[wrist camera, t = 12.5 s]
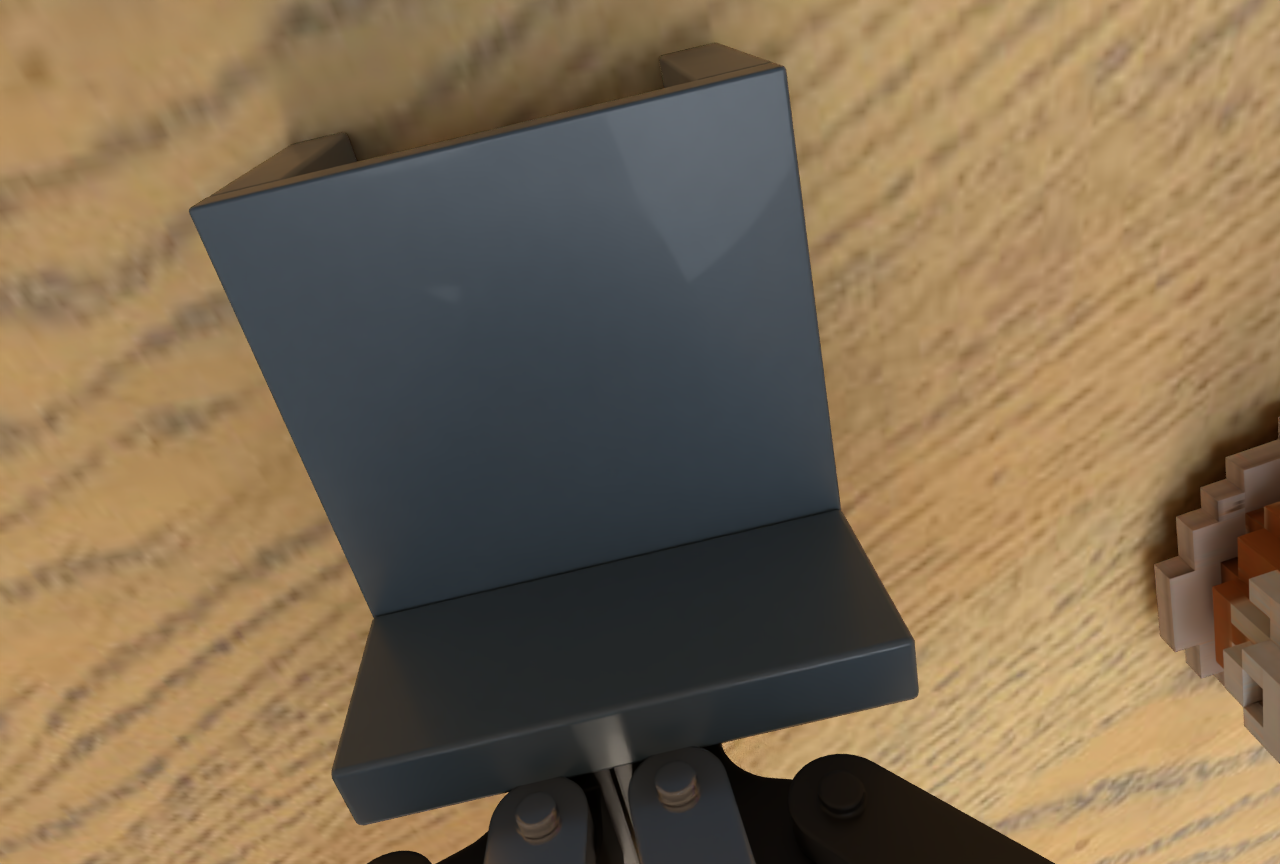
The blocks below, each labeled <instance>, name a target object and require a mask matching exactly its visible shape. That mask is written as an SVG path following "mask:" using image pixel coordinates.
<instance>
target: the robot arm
mask: <svg viewBox="0 0 1280 864" xmlns="http://www.w3.org/2000/svg"><path fill="white" fill-rule="evenodd" d="M367 864H432V863H431V862H430V861H429V860H428V859H427V858H426V857H425V856H423V855H422V854H419V853H417V852H412V851H396V852H391V853H388V854H385V855H382V856H380V857H378V858H376V859H374V860H372V861H371V862H369V863H367ZM436 864H1055V863H1053V862H1051V861H1049V860H1048V859H1046V858H1044V857H1042V856H1041V855H1039V854H1037V853H1035V852H1033V851H1032V850H1030V849H1028V848H1026V847H1024V846H1023V845H1021V844H1019V843H1017V842H1015V841H1014V840H1012V839H1010V838H1008V837H1007V836H1005V835H1003V834H1001V833H999V832H998V831H996V830H994V829H992V828H990V827H989V826H987V825H985V824H983V823H981V822H980V821H978V820H976V819H974V818H972V817H971V816H969V815H967V814H965V813H964V812H962V811H960V810H958V809H956V808H955V807H953V806H951V805H949V804H947V803H946V802H944V801H942V800H940V799H938V798H937V797H935V796H933V795H931V794H929V793H928V792H926V791H924V790H922V789H921V788H919V787H917V786H915V785H913V784H912V783H910V782H908V781H906V780H904V779H903V778H901V777H899V776H897V775H895V774H894V773H892V772H890V771H888V770H887V769H885V768H883V767H881V766H879V765H878V764H876V763H874V762H872V761H870V760H868V759H866V758H863V757H859V756H856V755H849V754H834V755H827V756H824V757H820V758H818V759H816V760H813V761H811V762H810V763H808V764H807V765H805V766H804V767H803V768H802V769H801V770H800V771H799V772H798V773H797V774H796V775H795V777H794V778H793V780H792V779H777V778H767V777H761V776H757V775H754V774H751V773H749V772H746V771H744V770H743V769H741V768H739V767H738V766H737V765H735V764H734V763H733V762H732V761H731V760H730V759H729V758H728V757H727V755H726V754H725V752H724V750H723V748H722V743H720V744H715V745H711V746H707V747H702V748H700V747H696V746H690V747H686V748H681V749H677V750H673V751H668V752H664V753H660V754H655V755H651V756H649V757H648V758H647V759H645V760H644V761H641V762H637V763H633V764H628V765H624V766H620V767H615V768H611V769H607V770H602V771H598V772H594V773H589V774H585V775H581V776H576V777H572V778H566V777H562V776H560V777H556V778H552V779H547V780H543V781H539V782H534V783H530V784H526V785H521V786H517V787H515V788H514V789H513V790H511V791H510V792H509V793H508V794H507V795H506V796H505V797H504V798H503V799H502V800H501V801H500V803H499V804H498V806H497V807H496V809H495V810H494V813H493V815H492V817H491V821H490V825H489V831H488V832H486V833H485V834H484V835H483V836H482V837H481V838H480V839H478V840H477V841H476V842H474V843H473V844H471V845H469V846H468V847H466V848H464V849H463V850H461V851H459V852H457V853H455V854H453V855H451V856H449V857H448V858H446V859H444V860H442V861H440V862H438V863H436Z"/></svg>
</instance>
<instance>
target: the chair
mask: <svg viewBox="0 0 1280 864" xmlns="http://www.w3.org/2000/svg"><path fill="white" fill-rule="evenodd" d="M659 63H660V69H661V74H662V79H663V85H664V88H663V89H659V90H654V91H650V92H646V93H642V94H638V95H634V96H629V97H625V98H621V99H617V100H613V101H608V102H604V103H600V104H596V105H592V106H588V107H583V108H579V109H575V110H571V111H567V112H563V113H558V114H554V115H550V116H546V117H542V118H537V119H533V120H529V121H525V122H521V123H517V124H512V125H508V126H504V127H500V128H496V129H492V130H487V131H483V132H479V133H475V134H471V135H466V136H462V137H458V138H454V139H450V140H446V141H441V142H437V143H433V144H429V145H425V146H421V147H416V148H412V149H408V150H404V151H400V152H395V153H391V154H387V155H383V156H379V157H375V158H370V159H366V160H362V161H358V162H357V160H356V157H355V155H354V152H353V149H352V146H351V143H350V141H349V138H348V136H347V134H346V133H342V132H341V133H337V134H333V135H329V136H324V137H320V138H316V139H312V140H308V141H304V142H299V143H295V144H291V145H290V146H288V147H286V148H285V149H283V150H282V151H280V152H279V153H277V154H275V155H274V156H272V157H271V158H269V159H268V160H266V161H264V162H263V163H261V164H260V165H258V166H257V167H255V168H253V169H252V170H250V171H249V172H247V173H245V174H244V175H242V176H241V177H239V178H238V179H236V180H234V181H233V182H231V183H230V184H228V185H227V186H225V187H223V188H222V189H220V190H219V191H217V192H216V193H214V194H212V195H211V196H210V197H208V198H205V199H203V200H202V201H200V202H199V203H197V204H196V205H194V206H192V207H191V208H190V209H189V213H190V215H191V218H192V220H193V222H194V224H195V226H196V229H197V231H198V233H199V235H200V237H201V240H202V242H203V244H204V246H205V248H206V251H207V253H208V255H209V257H210V259H211V262H212V264H213V266H214V268H215V270H216V272H217V275H218V277H219V279H220V281H221V283H222V286H223V288H224V290H225V292H226V294H227V297H228V299H229V301H230V303H231V305H232V308H233V310H234V312H235V314H236V316H237V319H238V321H239V323H240V325H241V327H242V330H243V332H244V334H245V336H246V338H247V341H248V343H249V345H250V347H251V349H252V352H253V354H254V356H255V358H256V360H257V363H258V365H259V367H260V369H261V371H262V374H263V376H264V378H265V380H266V382H267V385H268V387H269V389H270V391H271V393H272V396H273V398H274V400H275V402H276V404H277V407H278V409H279V411H280V413H281V415H282V418H283V420H284V422H285V424H286V426H287V428H288V431H289V433H290V435H291V437H292V439H293V442H294V444H295V446H296V448H297V450H298V453H299V455H300V457H301V459H302V461H303V464H304V466H305V468H306V470H307V472H308V475H309V477H310V479H311V481H312V483H313V486H314V488H315V490H316V492H317V494H318V497H319V499H320V501H321V503H322V505H323V508H324V510H325V512H326V514H327V516H328V519H329V521H330V523H331V525H332V527H333V530H334V532H335V534H336V536H337V538H338V541H339V543H340V545H341V547H342V549H343V552H344V554H345V556H346V558H347V560H348V563H349V565H350V567H351V569H352V571H353V573H354V576H355V578H356V580H357V582H358V584H359V587H360V589H361V591H362V593H363V595H364V598H365V600H366V602H367V604H368V606H369V609H370V611H371V613H372V615H373V617H374V619H373V621H372V624H371V627H370V631H369V635H368V638H367V642H366V646H365V650H364V653H363V657H362V661H361V664H360V668H359V672H358V675H357V679H356V683H355V686H354V690H353V694H352V697H351V701H350V705H349V708H348V712H347V716H346V719H345V723H344V727H343V730H342V734H341V738H340V742H339V745H338V749H337V753H336V756H335V760H334V764H333V767H332V774H331V775H332V779H333V781H334V783H335V784H336V786H337V788H338V790H339V792H340V794H341V795H342V797H343V799H344V801H345V803H346V805H347V807H348V808H349V810H350V812H351V814H352V816H353V818H354V819H355V821H356V823H357V824H359V825H367V824H372V823H376V822H380V821H385V820H389V819H394V818H398V817H402V816H407V815H411V814H415V813H420V812H424V811H428V810H433V809H437V808H441V807H446V806H450V805H454V804H459V803H463V802H467V801H472V800H476V799H480V798H485V797H489V796H494V795H498V794H502V793H507V792H510V791H511V790H513V789H514V788H515V787H517V786H521V785H526V784H530V783H534V782H539V781H543V780H547V779H552V778H556V777H560V776H562V777H566V778H572V777H576V776H581V775H585V774H589V773H594V772H598V771H602V770H607V769H611V768H615V767H620V766H624V765H628V764H633V763H637V762H641V761H644V760H645V759H647V758H648V757H649V756H651V755H655V754H660V753H664V752H668V751H673V750H677V749H681V748H686V747H690V746H696V747H700V748H702V747H707V746H711V745H715V744H720V743H724V742H728V741H733V740H737V739H741V738H746V737H750V736H754V735H759V734H763V733H768V732H772V731H776V730H781V729H785V728H789V727H794V726H798V725H802V724H807V723H811V722H815V721H820V720H824V719H828V718H833V717H837V716H841V715H846V714H850V713H854V712H859V711H863V710H868V709H872V708H876V707H881V706H885V705H889V704H894V703H898V702H902V701H907V700H911V699H914V698H916V697H917V696H918V692H919V687H918V676H917V664H916V652H915V640H914V639H913V637H912V635H911V633H910V631H909V630H908V628H907V626H906V624H905V623H904V621H903V619H902V617H901V615H900V614H899V612H898V610H897V608H896V606H895V605H894V603H893V601H892V599H891V598H890V596H889V594H888V592H887V590H886V589H885V587H884V585H883V583H882V582H881V580H880V578H879V576H878V574H877V573H876V571H875V569H874V567H873V565H872V564H871V562H870V560H869V558H868V557H867V555H866V553H865V551H864V549H863V548H862V546H861V544H860V542H859V541H858V539H857V537H856V535H855V533H854V532H853V530H852V528H851V526H850V524H849V523H848V521H847V519H846V517H845V516H844V514H843V513H842V511H841V505H840V497H839V489H838V481H837V473H836V465H835V457H834V449H833V441H832V433H831V425H830V417H829V409H828V401H827V393H826V385H825V377H824V369H823V361H822V353H821V345H820V337H819V329H818V321H817V313H816V305H815V297H814V289H813V281H812V273H811V265H810V257H809V249H808V241H807V233H806V225H805V217H804V209H803V201H802V193H801V185H800V177H799V169H798V161H797V153H796V145H795V137H794V129H793V121H792V113H791V105H790V97H789V89H788V81H787V72H786V69H785V67H784V66H781V65H778V64H776V63H773V62H770V61H767V60H764V59H761V58H759V57H756V56H753V55H750V54H747V53H744V52H741V51H739V50H736V49H733V48H730V47H727V46H724V45H721V44H719V43H711V44H707V45H703V46H699V47H695V48H691V49H686V50H682V51H678V52H674V53H670V54H666V55H661V56H660V57H659Z"/></svg>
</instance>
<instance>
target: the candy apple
mask: <svg viewBox="0 0 1280 864" xmlns="http://www.w3.org/2000/svg"><path fill="white" fill-rule="evenodd" d="M1225 459H1226V479H1224V480H1221V481H1218V482H1215V483H1212V484H1209V485H1206V486H1203V487H1200V492H1201V508H1200V509H1197V510H1194V511H1191V512H1188V513H1185V514H1182V515H1179V516H1176V526H1177V540H1178V554H1179V556H1177V557H1174V558H1171V559H1168V560H1165V561H1162V562H1159V563H1156V564H1154V571H1155V582H1156V594H1157V605H1158V617H1159V628H1160V636H1161V638H1162V639H1163V640H1164V641H1165V642H1166V643H1167V644H1168V645H1169V646H1170V647H1171V648H1172V649H1173V650H1174V651H1175V652H1178V651H1181V650H1184V649H1185V655H1186V663H1187V664H1188V665H1189V666H1190V667H1191V668H1192V669H1193V670H1194V671H1195V672H1196V673H1197V674H1198V675H1199V676H1200V678H1204V677H1207V676H1211V675H1214V676H1215V677H1216V678H1217V679H1218V680H1219V681H1220V682H1221V683H1222V684H1223V685H1224V686H1225V688H1226V689H1227V691H1228V692H1229V693H1230V694H1231V695H1232V696H1233V697H1234V698H1235V699H1236V700H1237V701H1238V702H1239V703H1240V704H1241V705H1242V706H1243V709H1244V726H1245V727H1246V728H1247V729H1248V730H1249V732H1250V733H1251V734H1252V735H1253V736H1254V737H1255V738H1256V739H1257V740H1258V741H1259V742H1260V743H1261V744H1262V745H1263V746H1264V748H1265V749H1266V750H1267V751H1268V752H1269V753H1270V754H1271V755H1272V756H1273V757H1274V758H1275V759H1276V760H1277V761H1278V762H1279V764H1280V417H1278V440H1275V441H1272V442H1269V443H1266V444H1263V445H1260V446H1257V447H1254V448H1251V449H1248V450H1245V451H1242V452H1240V453H1237V454H1234V455H1231V456H1228V457H1225Z"/></svg>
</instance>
